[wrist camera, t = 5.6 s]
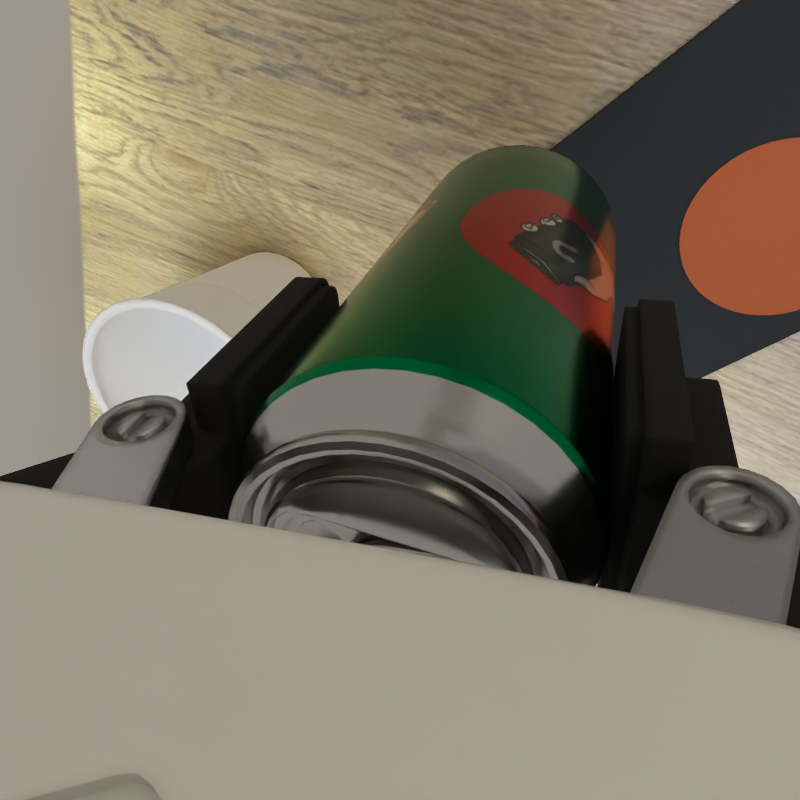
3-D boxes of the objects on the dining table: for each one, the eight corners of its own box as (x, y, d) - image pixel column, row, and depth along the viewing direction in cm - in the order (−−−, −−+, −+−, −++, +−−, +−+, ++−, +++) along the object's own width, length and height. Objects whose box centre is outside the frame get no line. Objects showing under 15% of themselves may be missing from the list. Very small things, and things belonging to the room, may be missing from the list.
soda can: (425, 135, 16) (154, 381, 7) (632, 142, 15) (651, 454, 6) (426, 313, 19) (236, 660, 10) (600, 331, 18) (576, 748, 8)
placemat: (825, -67, 23) (829, -67, 22) (984, 238, 26) (989, 243, 26) (448, 230, 33) (446, 233, 32) (602, 421, 36) (602, 426, 36)
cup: (176, 289, 40) (51, 381, 31) (259, 178, 34) (135, 253, 25) (294, 396, 42) (208, 510, 33) (391, 309, 36) (317, 419, 27)
